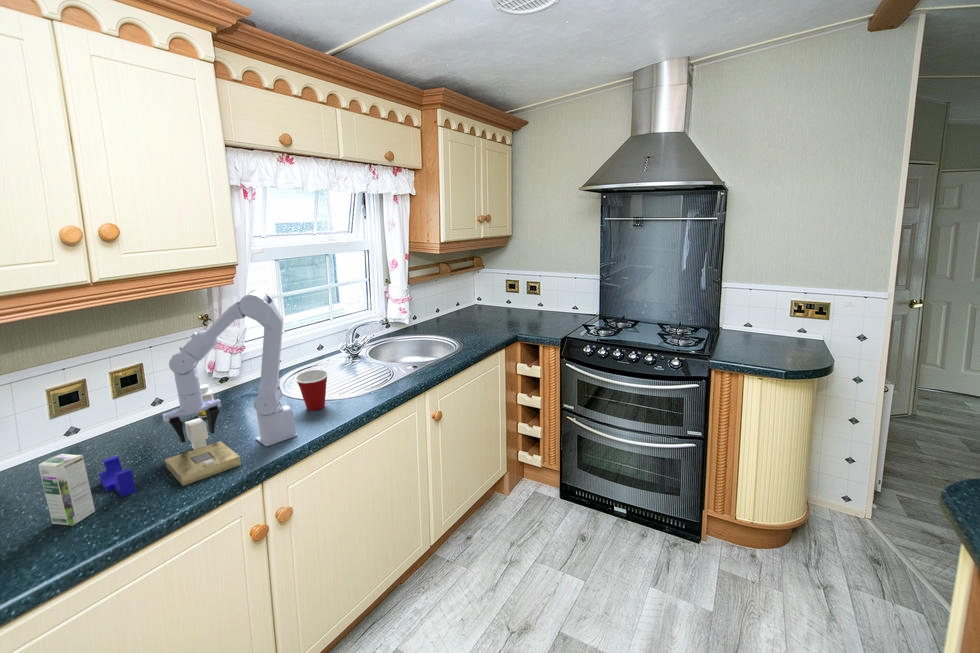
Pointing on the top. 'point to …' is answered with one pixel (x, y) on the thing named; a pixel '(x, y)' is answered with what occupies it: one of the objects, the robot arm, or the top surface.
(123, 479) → the cable clip
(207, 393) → the supplement bottle
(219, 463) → the socket plate
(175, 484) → the top surface
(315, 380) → the plastic cup
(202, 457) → the panel
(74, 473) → the syrup box
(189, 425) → the plug
